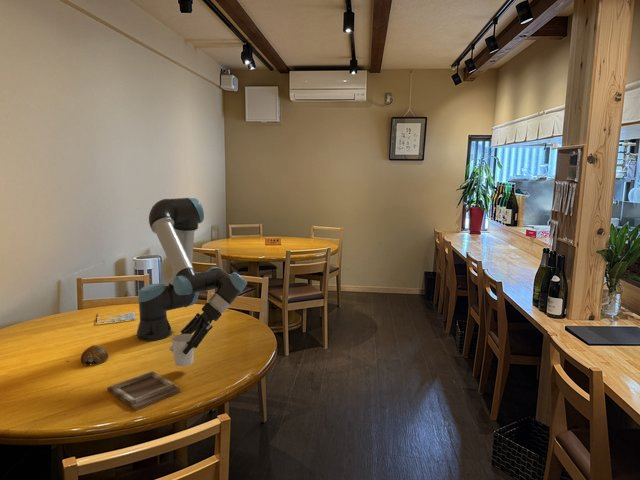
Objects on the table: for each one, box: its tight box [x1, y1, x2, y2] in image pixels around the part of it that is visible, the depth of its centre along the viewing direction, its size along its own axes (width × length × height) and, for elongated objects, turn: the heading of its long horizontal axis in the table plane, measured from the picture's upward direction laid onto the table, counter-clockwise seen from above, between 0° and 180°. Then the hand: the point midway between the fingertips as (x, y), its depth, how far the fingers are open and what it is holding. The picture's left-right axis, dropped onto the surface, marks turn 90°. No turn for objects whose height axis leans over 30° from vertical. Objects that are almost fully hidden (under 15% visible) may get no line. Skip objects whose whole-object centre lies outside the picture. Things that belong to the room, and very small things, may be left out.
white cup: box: [171, 333, 195, 367], centre depth 167 cm, size 8×8×10 cm
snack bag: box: [96, 311, 136, 323], centre depth 231 cm, size 19×20×2 cm
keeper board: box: [106, 370, 181, 411], centre depth 153 cm, size 20×16×2 cm
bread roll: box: [80, 345, 109, 366], centre depth 178 cm, size 10×10×8 cm
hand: (174, 355), depth 166 cm, fingers closed on white cup, 8 cm apart
